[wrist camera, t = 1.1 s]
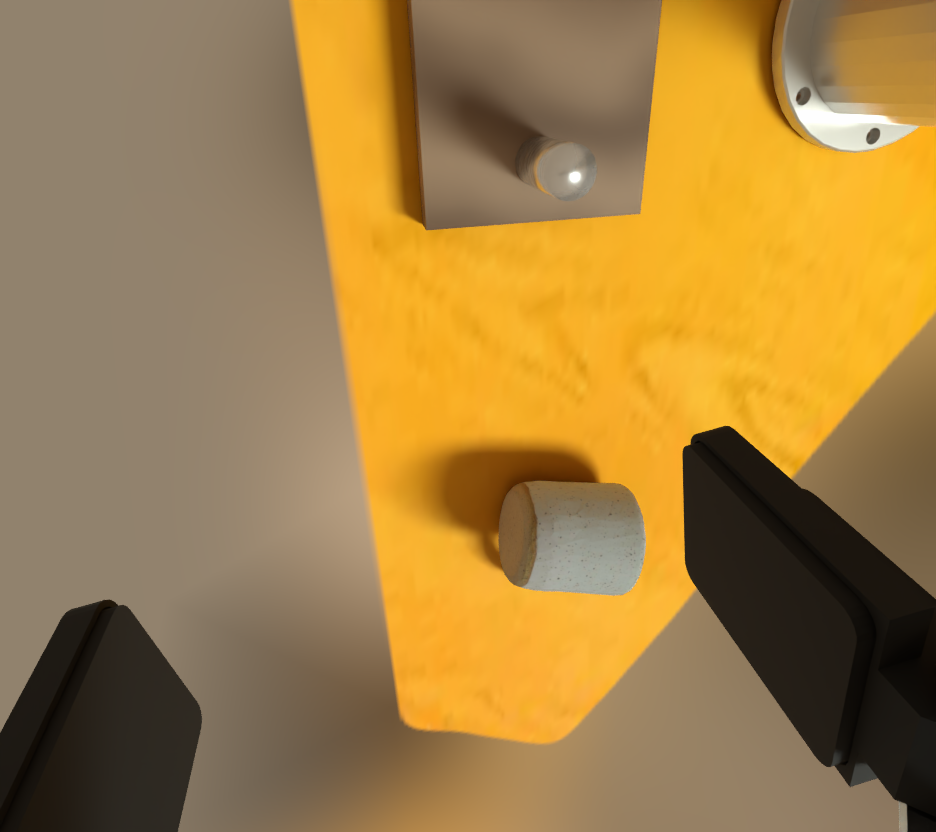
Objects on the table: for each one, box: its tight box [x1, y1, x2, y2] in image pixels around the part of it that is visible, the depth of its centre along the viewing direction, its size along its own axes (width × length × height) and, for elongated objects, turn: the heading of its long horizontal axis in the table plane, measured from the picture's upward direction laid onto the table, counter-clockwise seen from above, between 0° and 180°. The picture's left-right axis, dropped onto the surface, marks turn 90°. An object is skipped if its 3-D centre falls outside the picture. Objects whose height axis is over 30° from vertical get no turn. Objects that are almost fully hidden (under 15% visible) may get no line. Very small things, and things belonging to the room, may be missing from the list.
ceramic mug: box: [499, 481, 646, 595], centre depth 41 cm, size 11×8×8 cm
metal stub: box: [515, 136, 597, 201], centre depth 28 cm, size 2×2×5 cm
